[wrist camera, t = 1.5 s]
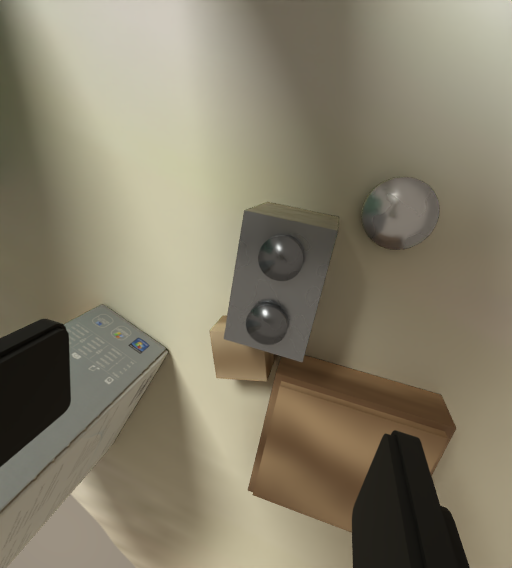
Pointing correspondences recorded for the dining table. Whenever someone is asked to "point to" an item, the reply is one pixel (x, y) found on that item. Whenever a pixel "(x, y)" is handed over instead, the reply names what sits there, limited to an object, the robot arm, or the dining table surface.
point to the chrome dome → (400, 213)
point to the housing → (279, 277)
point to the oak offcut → (238, 357)
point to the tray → (337, 435)
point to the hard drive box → (77, 423)
